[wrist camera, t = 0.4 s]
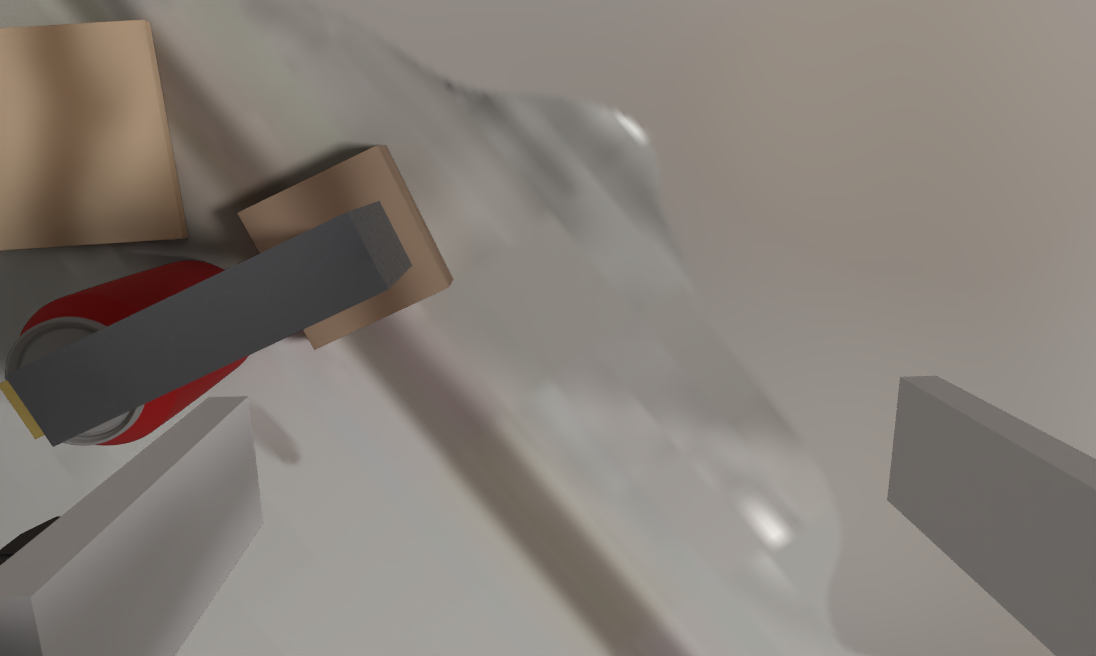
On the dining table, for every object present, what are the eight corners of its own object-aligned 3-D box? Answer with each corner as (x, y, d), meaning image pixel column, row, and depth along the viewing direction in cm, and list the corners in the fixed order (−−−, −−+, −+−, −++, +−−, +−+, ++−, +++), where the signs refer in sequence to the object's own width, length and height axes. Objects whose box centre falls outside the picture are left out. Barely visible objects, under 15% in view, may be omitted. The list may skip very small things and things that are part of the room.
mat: (-15, 250, 39) (-24, 251, 39) (-69, 34, 37) (-79, 33, 36) (188, 237, 40) (183, 238, 39) (149, 21, 37) (143, 19, 36)
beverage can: (115, 308, 40) (-51, 372, 29) (202, 232, 40) (68, 266, 28) (203, 397, 42) (78, 492, 30) (289, 325, 41) (195, 395, 29)
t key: (174, 357, 38) (-98, 517, 22) (150, 317, 38) (-149, 449, 21) (449, 227, 37) (388, 289, 20) (428, 184, 37) (347, 211, 20)
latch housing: (326, 338, 41) (314, 349, 39) (254, 209, 39) (236, 212, 37) (453, 279, 41) (448, 287, 38) (386, 145, 39) (376, 145, 36)
